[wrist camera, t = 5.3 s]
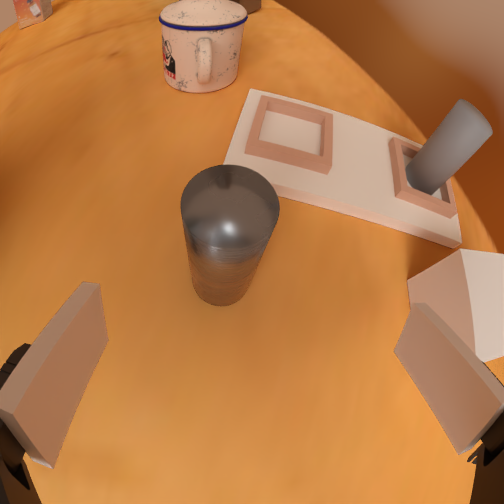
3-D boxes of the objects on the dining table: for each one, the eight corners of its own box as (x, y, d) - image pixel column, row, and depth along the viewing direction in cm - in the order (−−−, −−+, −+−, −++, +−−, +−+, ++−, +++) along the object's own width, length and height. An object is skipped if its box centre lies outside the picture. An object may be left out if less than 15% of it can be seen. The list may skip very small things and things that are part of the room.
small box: (19, 30, 37) (11, -1, 27) (29, 21, 39) (23, -9, 29) (44, 21, 38) (37, -13, 28) (53, 12, 40) (48, -19, 30)
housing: (414, 372, 20) (476, 364, 13) (407, 280, 23) (460, 248, 17) (472, 359, 21) (527, 347, 14) (463, 281, 24) (512, 255, 18)
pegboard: (219, 182, 24) (231, 63, 14) (248, 98, 29) (265, 6, 18) (453, 248, 25) (531, 192, 15) (437, 162, 30) (489, 102, 20)
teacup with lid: (164, 59, 31) (162, -18, 20) (233, 56, 32) (244, -20, 22) (159, 115, 26) (150, 14, 16) (247, 110, 28) (266, 11, 17)
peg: (186, 298, 20) (167, 235, 11) (200, 246, 22) (196, 156, 12) (242, 311, 20) (271, 259, 11) (253, 259, 22) (285, 176, 13)
